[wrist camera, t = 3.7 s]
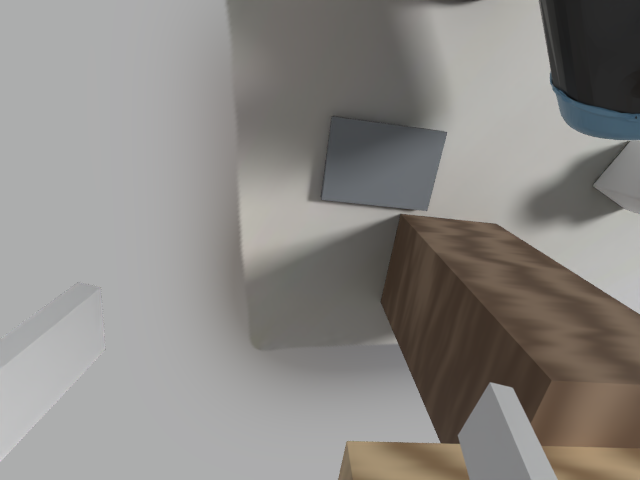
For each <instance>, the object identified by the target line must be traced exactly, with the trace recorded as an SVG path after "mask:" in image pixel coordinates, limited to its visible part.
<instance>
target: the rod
mask: <svg viewBox="0 0 640 480" xmlns="http://www.w3.org/2000/svg"><path fill="white" fill-rule="evenodd" d="M542 449H543V451H544V453H545V455H546V457H547V459H548V461H549V463H550V465H551V467H552V469H553V471H554V473H555V475H556V477H557V479H558V480H640V448H601V447H561V446H542ZM338 480H470V479H469V475H468V472H467V468H466V464H465V460H464V457H463V453H462V449H461V446H460V444H443V443H403V442H402V443H401V442H361V441H347V442H346V447H345V451H344V456H343V460H342V465H341V469H340V474H339V478H338Z"/></svg>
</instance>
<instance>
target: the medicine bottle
mask: <svg viewBox="0 0 640 480" xmlns="http://www.w3.org/2000/svg"><path fill="white" fill-rule="evenodd" d="M593 186H594V187H595V188H596V189H598V190H599V191H600V192H602V193H603V194H605V195H606V196H607V197H609V198H610V199H612V200H613V201H614V202H616V203H617V204H619V205H620V206H621V207H623V208H624V209H626V210H629V211H632V212H635V213H638V214H640V141H637V140H632V141H630V142H629V143H628V144H627V146H626V147H625V148H624V149H623V150H622V152H621V153H620V154H619V155H618V156H617V157H616V159H615V160H614V161H613V162H612V163H611V164H610V166H609V167H608V168H607V169H606V170H605V172H604V173H603V174H602V175H601V176H600V177H599V179H598V180H597V181H596V182H595V183H594V185H593Z"/></svg>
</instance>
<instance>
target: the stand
mask: <svg viewBox="0 0 640 480" xmlns="http://www.w3.org/2000/svg"><path fill="white" fill-rule="evenodd" d="M381 304H382V306H383V309H384V311H385V313H386V316H387V318H388V320H389V323H390V325H391V327H392V330H393V332H394V334H395V337H396V339H397V342H398V344H399V346H400V349H401V351H402V353H403V356H404V358H405V360H406V362H407V365H408V367H409V370H410V372H411V374H412V377H413V379H414V381H415V384H416V386H417V388H418V391H419V393H420V395H421V398H422V400H423V403H424V405H425V407H426V410H427V412H428V414H429V416H430V419H431V421H432V424H433V426H434V428H435V431H436V433H437V435H438V438H439V440H440V442H441V443H443V444H460V442H459V438H458V434H459V433H460V431H461V429H462V428H463V426H464V424H465V423H466V421H467V419H468V418H469V416H470V414H471V413H472V411H473V409H474V408H475V406H476V404H477V403H478V401H479V399H480V398H481V396H482V394H483V393H484V391H485V389H486V388H487V386H488V385H489V383H490V382H491V383H496V384H500V385H504V386H508V387H512V388H513V389H514V391H515V393H516V395H517V397H518V400H519V402H520V404H521V406H522V408H523V410H524V412H525V414H526V416H527V418H528V420H529V422H530V424H531V426H532V428H533V430H534V432H535V434H536V436H537V438H538V440H539V442H540V444H541V446H561V447H601V448H640V314H638V313H637V312H635V311H633V310H632V309H630V308H629V307H627V306H625V305H624V304H622V303H621V302H619V301H618V300H616V299H614V298H613V297H611V296H610V295H608V294H606V293H605V292H603V291H602V290H600V289H599V288H597V287H595V286H594V285H592V284H591V283H589V282H588V281H586V280H584V279H583V278H581V277H580V276H578V275H576V274H575V273H573V272H572V271H570V270H569V269H567V268H565V267H564V266H562V265H561V264H559V263H557V262H556V261H554V260H553V259H551V258H550V257H548V256H546V255H545V254H543V253H542V252H540V251H539V250H537V249H535V248H534V247H532V246H531V245H529V244H527V243H526V242H524V241H523V240H521V239H520V238H518V237H516V236H515V235H513V234H512V233H510V232H508V231H507V230H505V229H504V228H502V227H501V226H499V225H497V224H492V223H482V222H473V221H463V220H454V219H444V218H434V217H425V216H415V215H406V214H401V215H400V219H399V223H398V228H397V232H396V237H395V241H394V245H393V250H392V254H391V259H390V263H389V267H388V272H387V276H386V281H385V285H384V290H383V294H382V298H381Z"/></svg>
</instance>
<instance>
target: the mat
mask: <svg viewBox="0 0 640 480" xmlns="http://www.w3.org/2000/svg"><path fill="white" fill-rule="evenodd" d="M446 135H447V132H444V131H438V130H431V129H423V128H416V127H408V126H401V125H393V124H386V123H379V122H371V121H364V120H356V119H349V118H341V117H334V116H332V118H331V125H330V133H329V140H328V148H327V155H326V163H325V170H324V177H323V185H322V192H321V199H322V200H329V201H338V202H347V203H357V204H366V205H376V206H385V207H394V208H404V209H413V210H423V211H427V209H428V206H429V202H430V198H431V194H432V190H433V186H434V182H435V178H436V174H437V170H438V166H439V163H440V159H441V155H442V151H443V147H444V143H445V139H446Z"/></svg>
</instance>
